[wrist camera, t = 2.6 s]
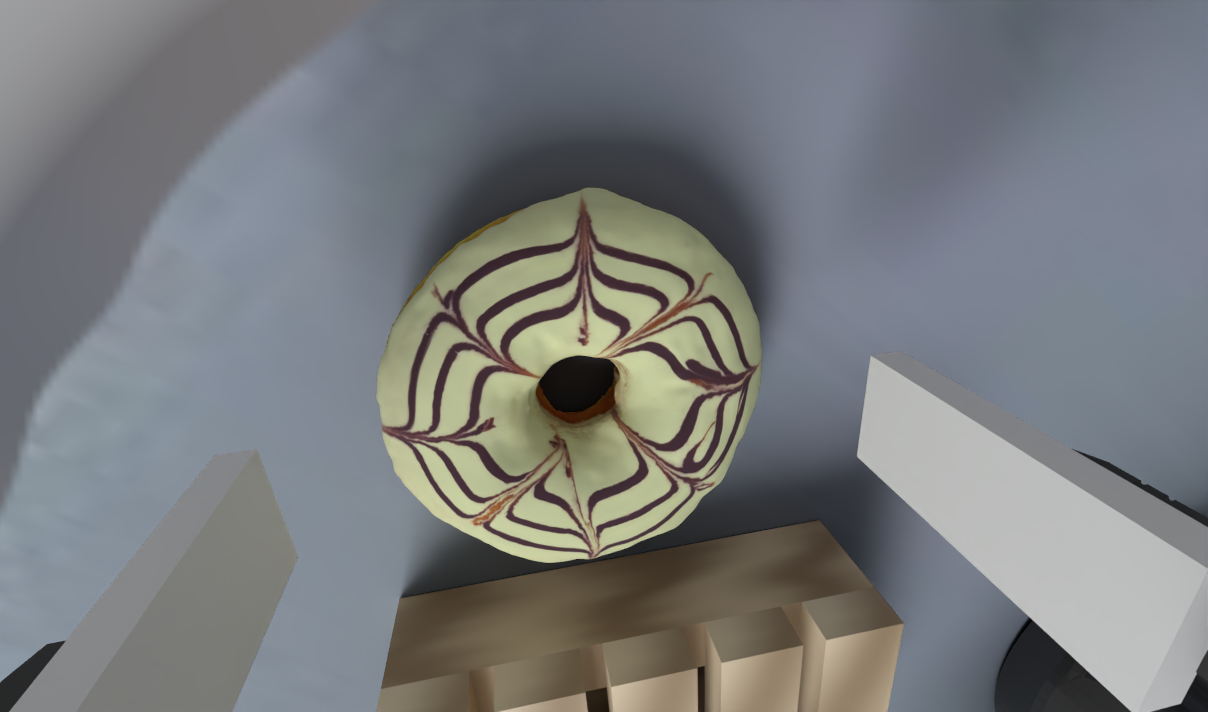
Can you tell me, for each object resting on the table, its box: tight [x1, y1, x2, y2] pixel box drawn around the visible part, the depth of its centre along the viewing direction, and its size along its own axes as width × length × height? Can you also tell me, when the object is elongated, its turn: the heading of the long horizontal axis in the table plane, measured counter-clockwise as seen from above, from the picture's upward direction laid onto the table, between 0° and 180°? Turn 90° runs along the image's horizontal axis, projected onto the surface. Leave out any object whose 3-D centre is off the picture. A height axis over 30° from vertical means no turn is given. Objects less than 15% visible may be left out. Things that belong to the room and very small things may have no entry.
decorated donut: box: [376, 188, 762, 563], centre depth 16 cm, size 10×11×4 cm
